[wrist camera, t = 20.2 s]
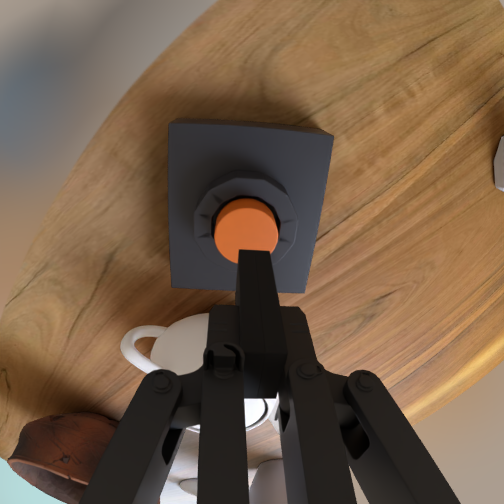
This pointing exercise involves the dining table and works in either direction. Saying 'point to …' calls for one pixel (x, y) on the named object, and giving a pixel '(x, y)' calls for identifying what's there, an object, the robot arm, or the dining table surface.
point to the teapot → (188, 360)
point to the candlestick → (189, 486)
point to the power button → (245, 228)
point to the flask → (499, 166)
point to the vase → (269, 484)
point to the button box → (243, 195)
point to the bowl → (62, 452)
